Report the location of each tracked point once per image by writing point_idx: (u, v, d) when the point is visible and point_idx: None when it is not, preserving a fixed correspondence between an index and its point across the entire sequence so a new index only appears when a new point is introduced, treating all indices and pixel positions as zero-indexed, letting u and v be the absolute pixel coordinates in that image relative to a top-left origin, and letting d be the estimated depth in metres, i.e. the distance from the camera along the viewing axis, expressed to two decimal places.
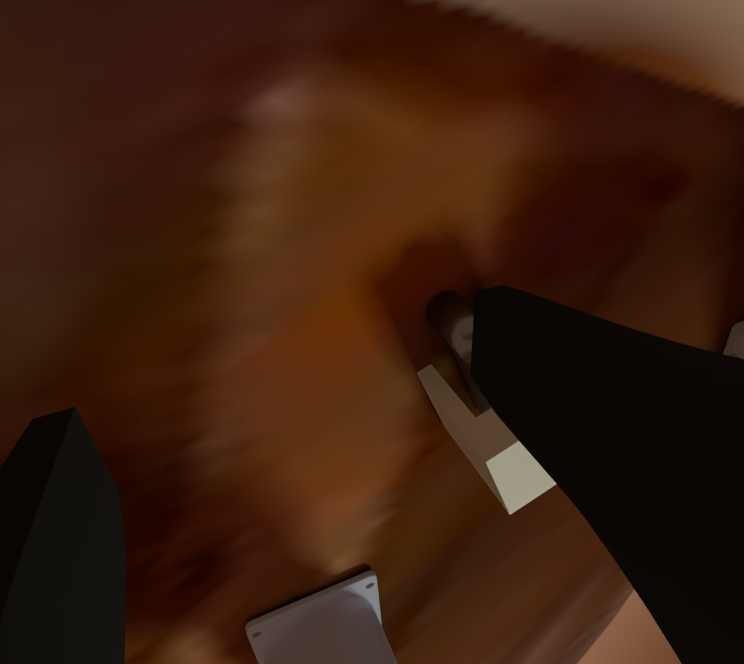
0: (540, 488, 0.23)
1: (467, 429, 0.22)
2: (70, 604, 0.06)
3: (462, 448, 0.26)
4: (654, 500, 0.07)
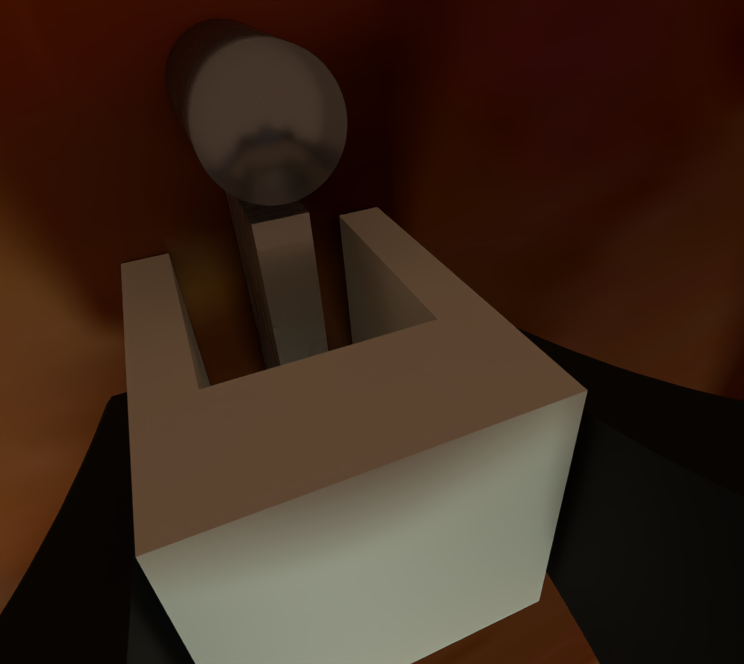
0: None
1: (149, 419, 0.06)
2: None
3: None
4: (587, 530, 0.07)
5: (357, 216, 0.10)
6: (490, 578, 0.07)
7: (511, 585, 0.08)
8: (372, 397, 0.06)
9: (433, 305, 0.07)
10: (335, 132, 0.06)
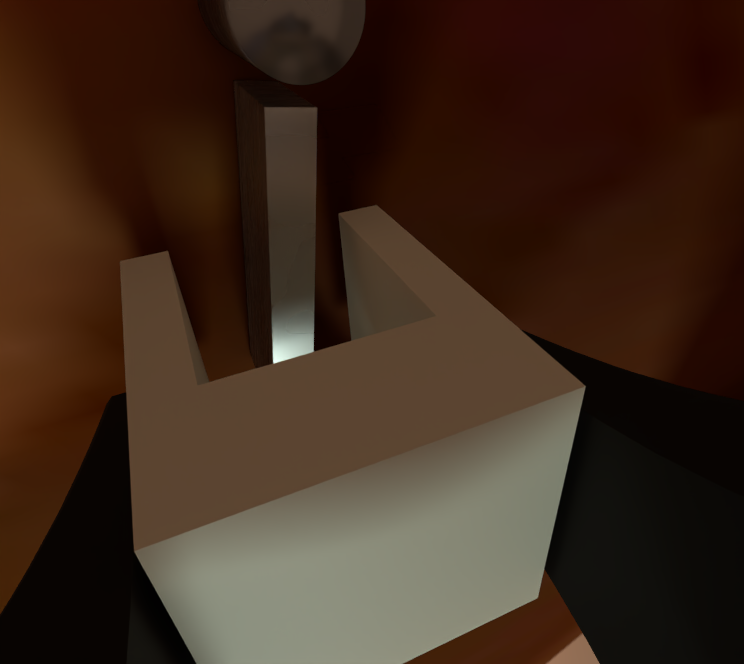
0: None
1: (149, 414, 0.06)
2: None
3: None
4: (587, 530, 0.07)
5: (356, 214, 0.10)
6: (489, 575, 0.07)
7: (509, 583, 0.08)
8: (371, 393, 0.06)
9: (432, 302, 0.08)
10: (353, 25, 0.07)
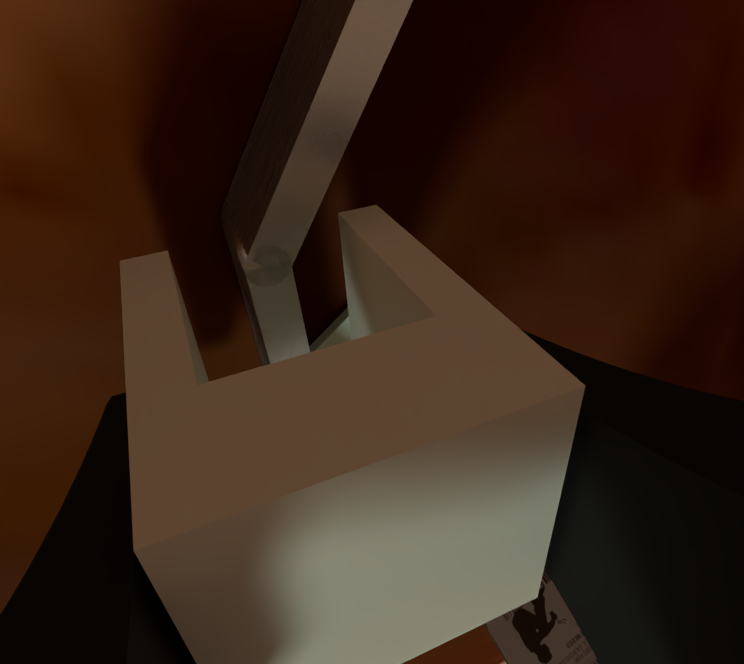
0: None
1: (148, 414, 0.06)
2: None
3: None
4: (587, 530, 0.07)
5: (356, 214, 0.10)
6: (489, 574, 0.07)
7: (509, 581, 0.08)
8: (370, 392, 0.06)
9: (432, 302, 0.08)
10: None
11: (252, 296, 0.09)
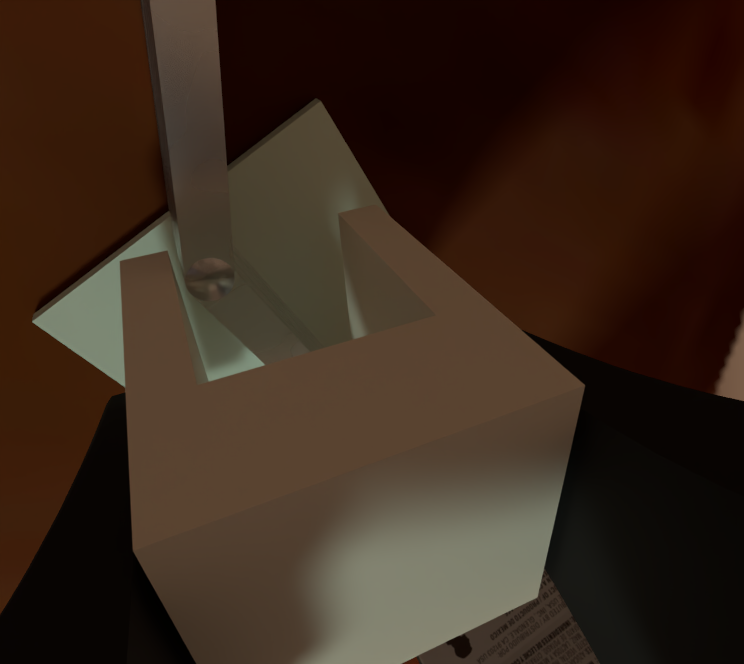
0: None
1: (148, 414, 0.06)
2: None
3: None
4: (587, 530, 0.07)
5: (356, 214, 0.10)
6: (488, 574, 0.07)
7: (509, 582, 0.08)
8: (370, 392, 0.06)
9: (432, 302, 0.08)
10: None
11: None
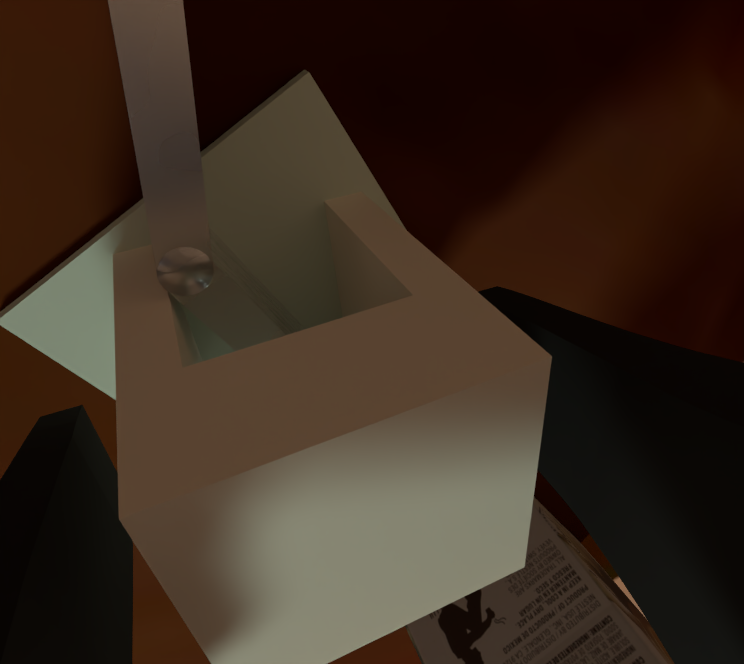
0: (348, 638, 0.08)
1: (136, 395, 0.06)
2: (80, 600, 0.06)
3: None
4: (648, 502, 0.07)
5: (341, 201, 0.10)
6: (472, 543, 0.08)
7: (493, 551, 0.08)
8: (346, 369, 0.06)
9: (409, 283, 0.08)
10: None
11: None
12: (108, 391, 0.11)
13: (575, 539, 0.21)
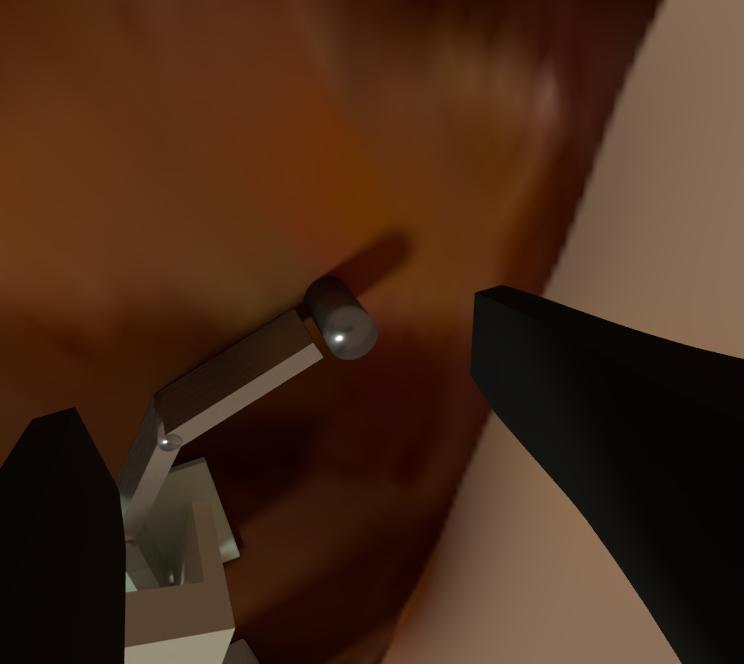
0: None
1: None
2: (70, 604, 0.06)
3: None
4: (654, 500, 0.07)
5: (199, 505, 0.23)
6: None
7: None
8: (168, 613, 0.19)
9: (206, 574, 0.20)
10: (358, 354, 0.19)
11: (154, 452, 0.18)
12: None
13: None
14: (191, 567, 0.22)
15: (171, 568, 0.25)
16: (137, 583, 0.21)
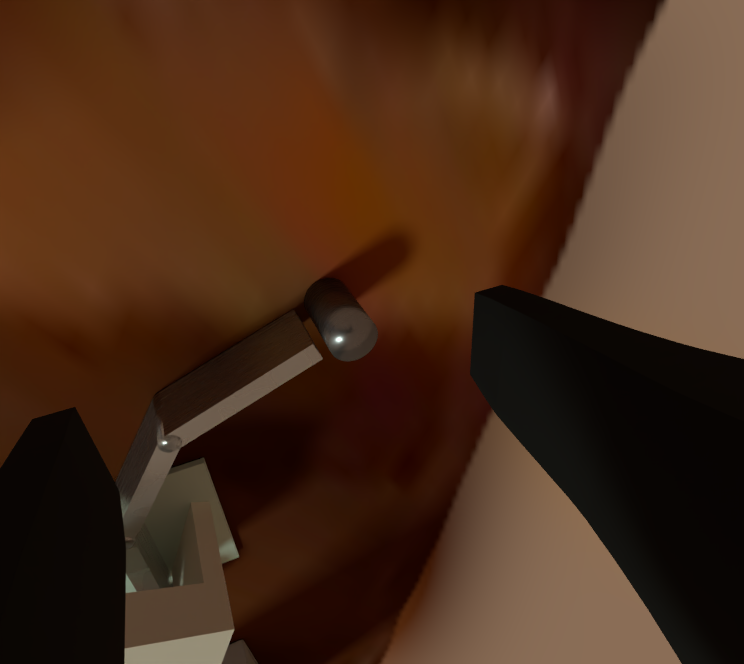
0: None
1: None
2: (70, 604, 0.06)
3: None
4: (654, 500, 0.07)
5: (198, 506, 0.23)
6: None
7: None
8: (167, 614, 0.19)
9: (205, 575, 0.20)
10: (358, 355, 0.19)
11: (153, 452, 0.18)
12: None
13: None
14: (190, 568, 0.22)
15: (170, 569, 0.25)
16: (136, 584, 0.21)
